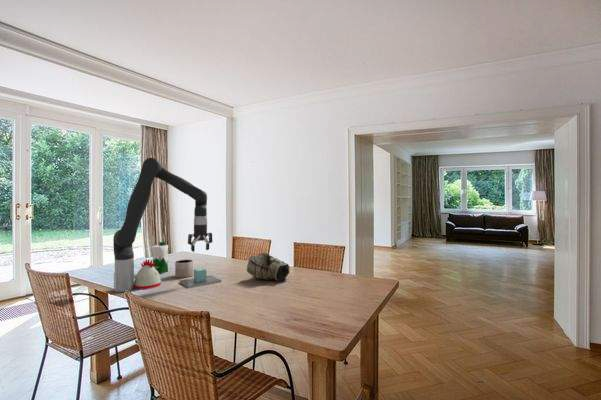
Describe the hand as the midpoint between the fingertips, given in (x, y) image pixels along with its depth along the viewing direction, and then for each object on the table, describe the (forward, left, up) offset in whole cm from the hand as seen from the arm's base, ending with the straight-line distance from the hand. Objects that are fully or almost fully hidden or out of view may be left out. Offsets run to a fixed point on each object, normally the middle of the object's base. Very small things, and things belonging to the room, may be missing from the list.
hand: (200, 250), depth 187 cm
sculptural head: (+36, -19, -19) cm, 45 cm away
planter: (-2, +21, -19) cm, 29 cm away
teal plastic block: (0, 0, -18) cm, 18 cm away
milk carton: (-11, +41, -19) cm, 47 cm away
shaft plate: (0, 0, -19) cm, 19 cm away
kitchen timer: (-26, +13, -19) cm, 35 cm away
